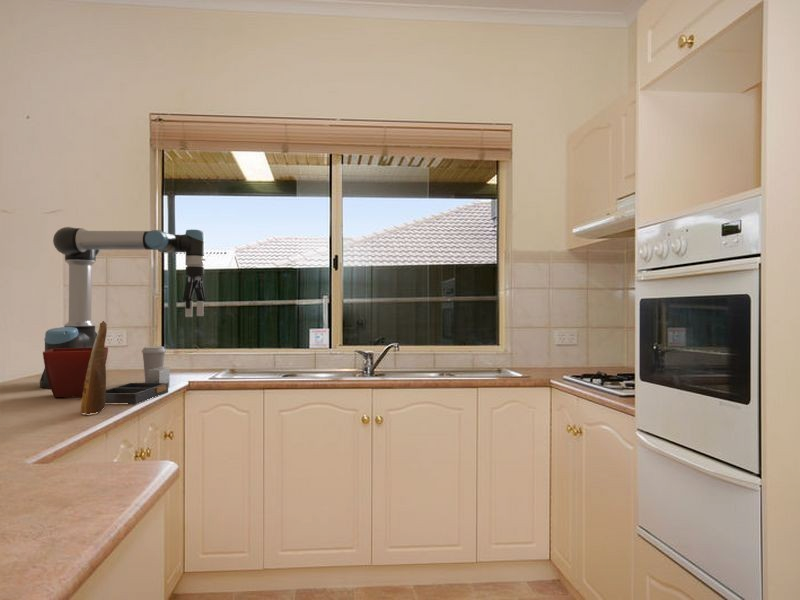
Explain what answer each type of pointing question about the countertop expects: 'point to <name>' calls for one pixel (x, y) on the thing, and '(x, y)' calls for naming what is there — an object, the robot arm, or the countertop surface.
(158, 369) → the plain grey rectangular box
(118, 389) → the tray
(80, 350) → the plant pot
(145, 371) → the coffee cup
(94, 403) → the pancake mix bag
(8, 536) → the countertop surface
